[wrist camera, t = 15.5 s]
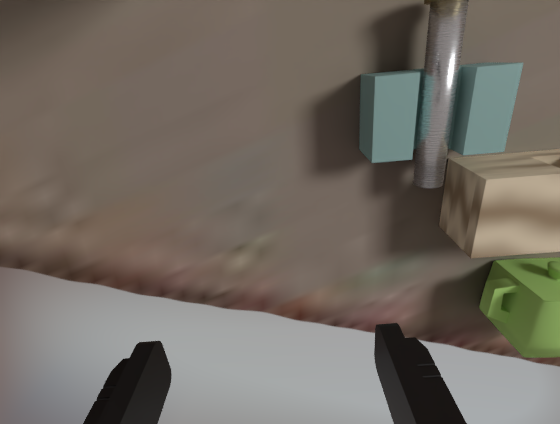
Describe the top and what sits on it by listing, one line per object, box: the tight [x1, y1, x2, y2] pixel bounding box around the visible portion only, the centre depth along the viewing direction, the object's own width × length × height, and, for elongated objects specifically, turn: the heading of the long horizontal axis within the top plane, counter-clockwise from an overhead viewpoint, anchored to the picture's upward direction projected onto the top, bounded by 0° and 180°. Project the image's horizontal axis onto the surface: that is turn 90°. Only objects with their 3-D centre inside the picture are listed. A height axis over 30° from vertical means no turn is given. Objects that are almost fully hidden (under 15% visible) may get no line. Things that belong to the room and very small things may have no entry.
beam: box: [439, 149, 560, 258], centre depth 36 cm, size 9×20×8 cm, turn 95°
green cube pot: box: [479, 258, 560, 358], centre depth 41 cm, size 18×10×10 cm, turn 92°
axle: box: [413, 0, 469, 188], centre depth 31 cm, size 18×4×4 cm, turn 5°
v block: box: [359, 63, 523, 163], centre depth 32 cm, size 8×13×6 cm, turn 95°
